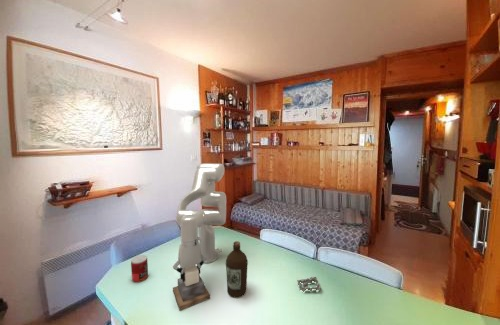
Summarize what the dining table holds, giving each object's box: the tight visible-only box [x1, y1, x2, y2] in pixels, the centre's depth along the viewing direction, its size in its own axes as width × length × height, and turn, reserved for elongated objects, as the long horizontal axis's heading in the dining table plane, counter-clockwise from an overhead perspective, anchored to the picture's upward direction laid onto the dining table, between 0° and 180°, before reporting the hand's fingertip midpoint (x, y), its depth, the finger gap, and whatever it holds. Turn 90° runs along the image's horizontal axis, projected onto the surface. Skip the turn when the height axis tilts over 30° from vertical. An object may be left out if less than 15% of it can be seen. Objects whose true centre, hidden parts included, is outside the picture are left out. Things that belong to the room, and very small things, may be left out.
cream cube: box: [184, 264, 199, 286], centre depth 101 cm, size 6×6×6 cm
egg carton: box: [296, 276, 322, 293], centre depth 107 cm, size 11×8×4 cm
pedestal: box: [172, 275, 211, 312], centre depth 102 cm, size 14×14×7 cm
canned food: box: [130, 254, 149, 283], centre depth 114 cm, size 8×8×11 cm
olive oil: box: [225, 240, 249, 299], centre depth 103 cm, size 11×11×25 cm
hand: (190, 277), depth 101 cm, fingers open, 6 cm apart
